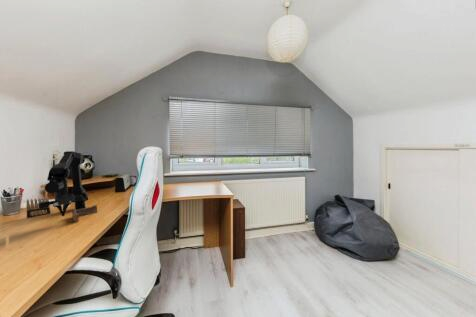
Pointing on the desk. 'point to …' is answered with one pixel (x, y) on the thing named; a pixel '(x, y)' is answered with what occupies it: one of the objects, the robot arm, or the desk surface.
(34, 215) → the ammunition clip
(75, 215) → the fence gate
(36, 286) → the desk surface
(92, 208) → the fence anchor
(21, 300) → the desk surface
